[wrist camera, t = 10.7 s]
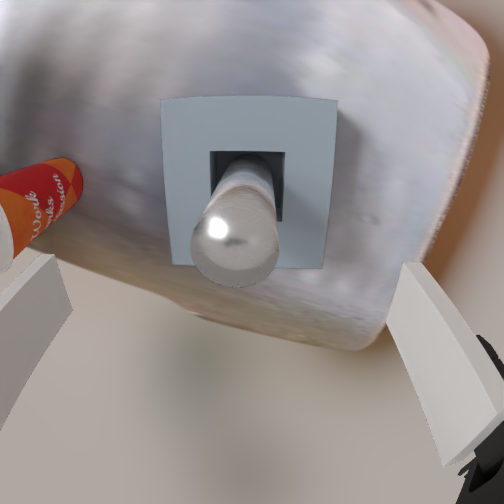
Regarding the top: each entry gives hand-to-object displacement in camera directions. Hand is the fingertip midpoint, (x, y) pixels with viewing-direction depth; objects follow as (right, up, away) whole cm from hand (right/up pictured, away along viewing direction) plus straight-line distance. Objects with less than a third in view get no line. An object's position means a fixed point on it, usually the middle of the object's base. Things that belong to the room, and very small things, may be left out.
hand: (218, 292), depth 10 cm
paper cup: (-19, +9, +17) cm, 27 cm away
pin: (+1, +8, +15) cm, 17 cm away
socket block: (+1, +8, +16) cm, 18 cm away
